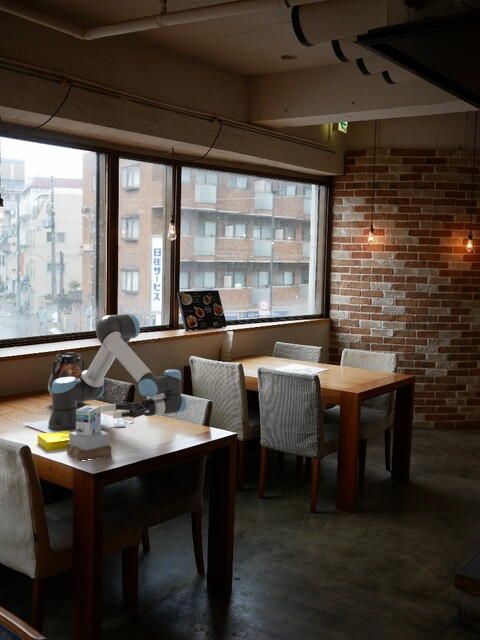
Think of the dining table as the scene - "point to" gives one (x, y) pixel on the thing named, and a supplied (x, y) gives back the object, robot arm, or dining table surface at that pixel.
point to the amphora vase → (66, 368)
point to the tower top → (89, 440)
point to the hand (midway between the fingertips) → (107, 411)
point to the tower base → (88, 452)
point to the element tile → (54, 440)
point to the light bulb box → (88, 420)
